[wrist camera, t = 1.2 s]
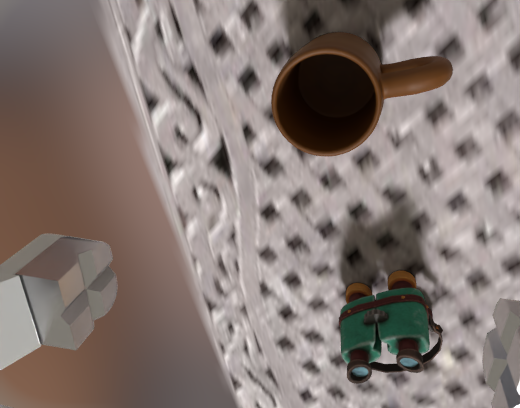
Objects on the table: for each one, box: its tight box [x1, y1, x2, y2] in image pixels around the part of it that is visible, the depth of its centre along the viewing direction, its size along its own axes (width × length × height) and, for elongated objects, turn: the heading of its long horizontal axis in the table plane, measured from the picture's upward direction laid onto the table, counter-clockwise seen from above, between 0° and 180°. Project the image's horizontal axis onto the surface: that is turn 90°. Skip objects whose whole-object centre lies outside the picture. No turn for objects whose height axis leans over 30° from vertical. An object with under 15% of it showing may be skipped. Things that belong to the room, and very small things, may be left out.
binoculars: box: [339, 271, 443, 384], centre depth 42 cm, size 9×11×10 cm
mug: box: [271, 32, 453, 156], centre depth 33 cm, size 12×8×9 cm, turn 107°
